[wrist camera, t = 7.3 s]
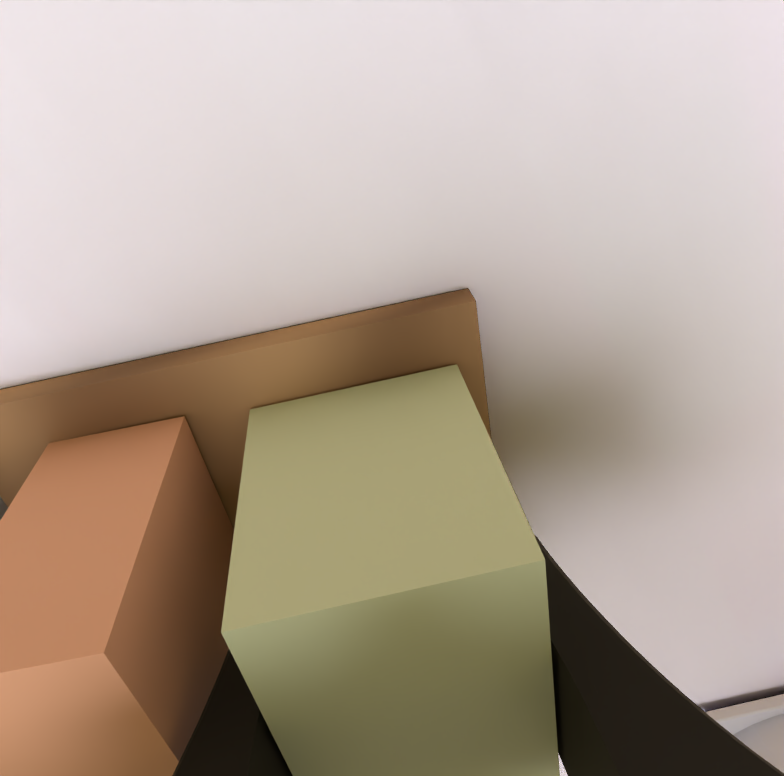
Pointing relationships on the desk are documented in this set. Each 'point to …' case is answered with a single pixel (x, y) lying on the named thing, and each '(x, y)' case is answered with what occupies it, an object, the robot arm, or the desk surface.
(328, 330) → the walnut board
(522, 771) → the sage book
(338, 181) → the desk surface
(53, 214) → the desk surface
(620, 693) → the robot arm
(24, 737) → the terracotta book
